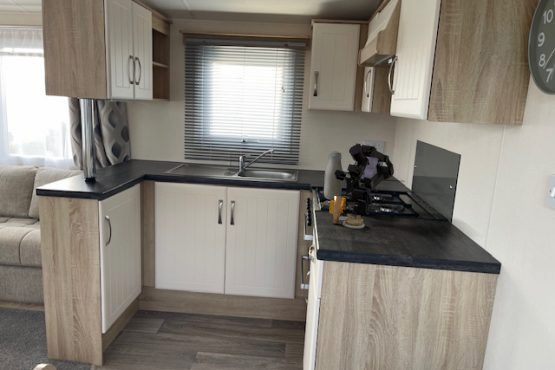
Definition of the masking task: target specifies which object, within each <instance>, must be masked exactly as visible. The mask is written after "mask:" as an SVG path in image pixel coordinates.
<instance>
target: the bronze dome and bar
mask: <svg viewBox="0 0 555 370" xmlns="http://www.w3.org/2000/svg"><path fill="white" fill-rule="evenodd" d="M342 198H343V196H341V195H340V196H335V197H334V200H333V201H334V209H333V214H332V220H331V221H332V223H333V224H340V220H341V221H345V223H346V224H349V225H356V226H358V225H362V224H363V223H364V219H363V218H362V215H357V214H356V216H353V215H352V214H351V213H350V214H349V213H347V214H346V215H347V216H342V215H341V214H340V211H341V200H342Z"/></svg>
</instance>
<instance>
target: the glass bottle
mask: <svg viewBox="0 0 555 370" xmlns="http://www.w3.org/2000/svg"><path fill="white" fill-rule="evenodd" d="M337 169H338V170H342V171H344V170H343V165H342V153H341V152H340V151H336V150H335V151H334V150H333V151H330V152H329V154H328V160H327V164H326V168H325V170H324V182H323V185H324V186H323V195H324V198H325V199H327V200H329V201H332V200H333V201H334V197H335V196H341V194H342V187H343V181H341V180H337V179H336V177H335V174H334V173H335V171H336V170H337Z"/></svg>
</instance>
